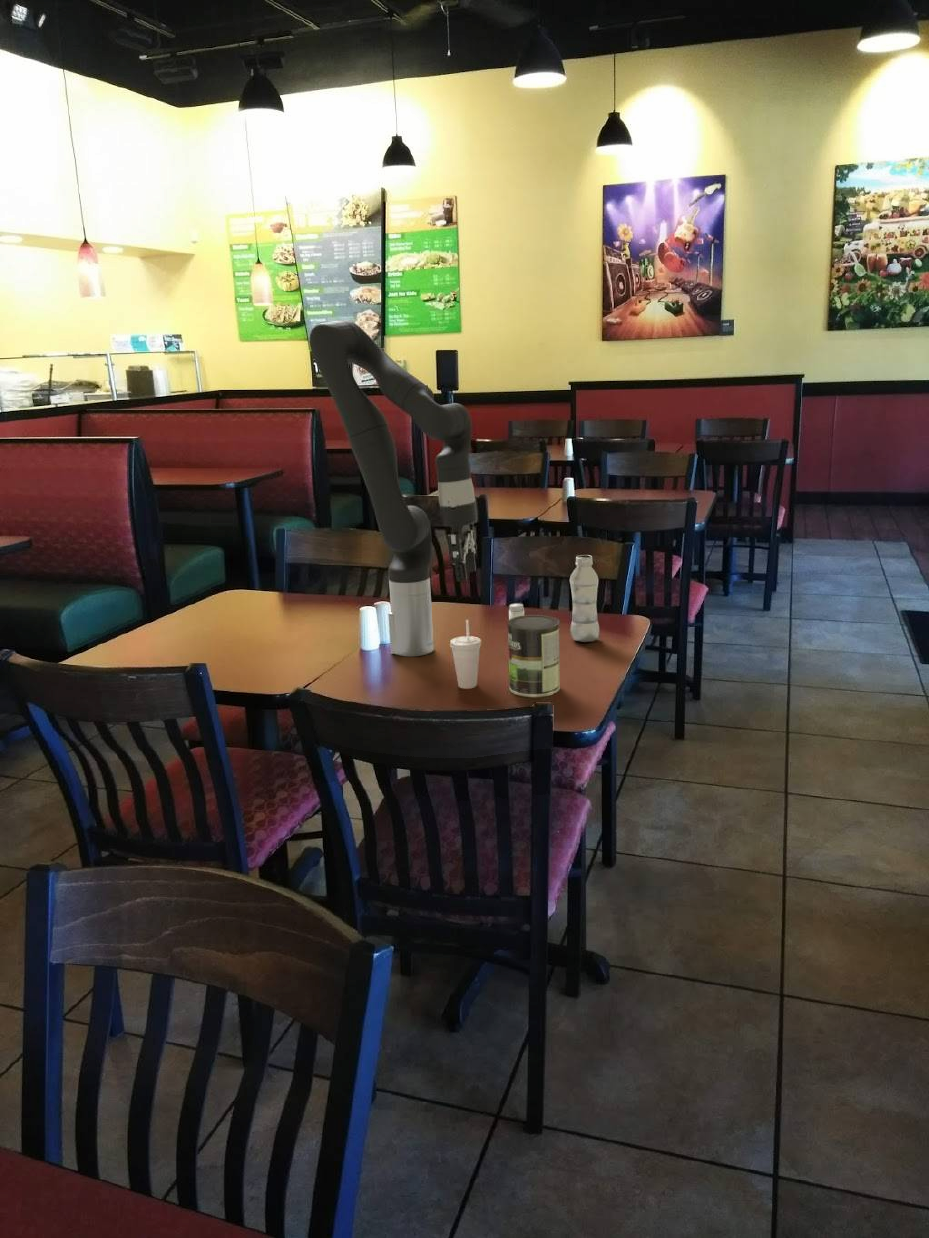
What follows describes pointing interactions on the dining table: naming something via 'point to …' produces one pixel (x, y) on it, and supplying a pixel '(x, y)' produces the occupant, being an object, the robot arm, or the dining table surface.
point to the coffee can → (533, 655)
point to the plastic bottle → (584, 600)
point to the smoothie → (466, 658)
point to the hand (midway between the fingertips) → (466, 576)
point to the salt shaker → (516, 610)
